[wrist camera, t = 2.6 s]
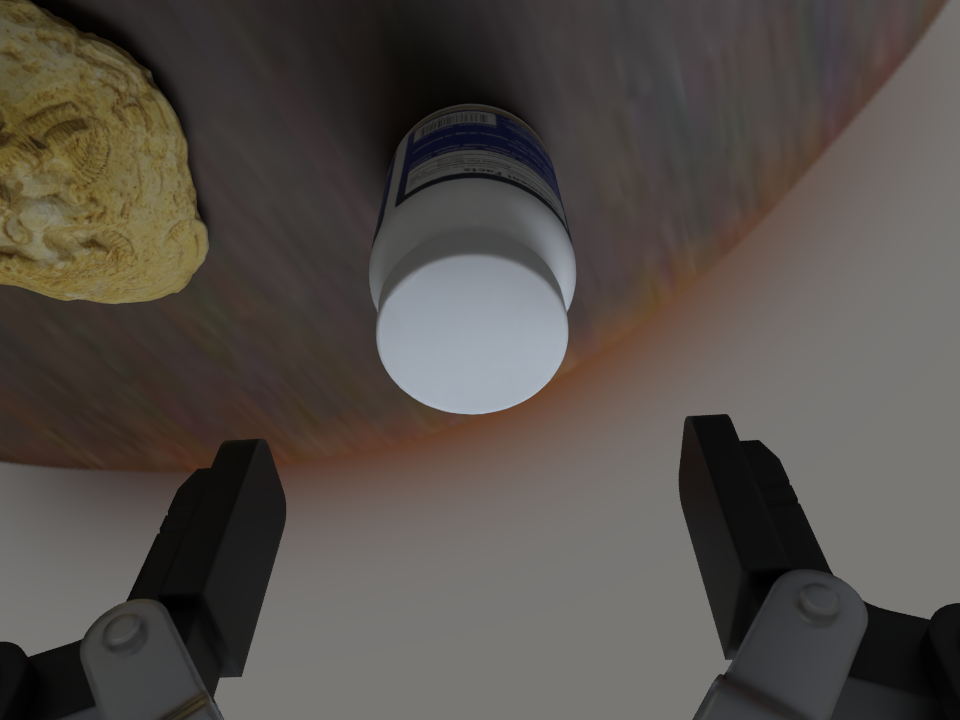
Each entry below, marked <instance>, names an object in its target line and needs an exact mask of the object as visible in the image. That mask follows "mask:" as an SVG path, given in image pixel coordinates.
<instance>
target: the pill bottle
mask: <svg viewBox="0 0 960 720" xmlns="http://www.w3.org/2000/svg"><path fill="white" fill-rule="evenodd" d="M369 284H370V290H371V295H372V299H373V302H374V305H375V307H376V310H377V312H378V315H377V323H376V342H377V348H378V352H379V355H380V358H381V361H382V363H383V365H384V367H385V369H386V371H387V372H388V374H389V375H390V377H391V378H392V379H393V380H394V381H395V382H396V384H397V385H398V386H399V387H400V388H401V389H402V390H404V391H405V392H406V393H408V394H409V395H410V396H412V397H413V398H415V399H416V400H418V401H420V402H422V403H424V404H426V405H428V406H431V407H433V408H436V409H440V410H443V411H446V412H452V413H459V414H484V413H490V412H495V411H499V410H503V409H507V408H509V407H512V406H514V405H516V404H519V403H521V402H523V401H525V400H526V399H528V398H530V397H531V396H533V395H534V394H536V393H537V392H538V391H539V390H540V389H542V388H543V387H544V386H545V385H546V384H547V383H548V382H549V381H550V379H551V378H552V377H553V376H554V374H555V373H556V371H557V370H558V368H559V366H560V364H561V362H562V360H563V357H564V354H565V352H566V348H567V342H568V320H567V311H568V309H569V306H570V304H571V301H572V298H573V294H574V289H575V284H576V262H575V255H574V250H573V245H572V241H571V237H570V233H569V228H568V224H567V220H566V216H565V212H564V208H563V204H562V201H561V196H560V192H559V188H558V184H557V180H556V176H555V172H554V168H553V165H552V162H551V159H550V156H549V154H548V152H547V150H546V148H545V146H544V144H543V142H542V141H541V139H540V138H539V137H538V135H537V134H536V133H535V132H534V131H533V130H532V129H531V128H530V127H529V126H528V125H527V124H526V123H525V122H523V121H522V120H521V119H519V118H518V117H516V116H514V115H513V114H511V113H509V112H507V111H505V110H502V109H499V108H496V107H492V106H487V105H482V104H460V105H455V106H450V107H447V108H444V109H441V110H439V111H436V112H434V113H432V114H430V115H428V116H427V117H425V118H424V119H422V120H421V121H420V122H418V123H417V124H416V125H415V126H414V127H413V128H412V129H411V130H410V131H409V132H408V133H407V134H406V135H405V137H404V138H403V140H402V141H401V143H400V144H399V146H398V148H397V150H396V152H395V154H394V157H393V159H392V162H391V165H390V168H389V172H388V177H387V181H386V185H385V190H384V195H383V200H382V204H381V209H380V213H379V218H378V223H377V227H376V231H375V235H374V240H373V245H372V250H371V255H370V265H369Z"/></svg>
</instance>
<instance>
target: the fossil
mask: <svg viewBox="0 0 960 720" xmlns="http://www.w3.org/2000/svg"><path fill="white" fill-rule="evenodd" d="M188 150H189V147H188V142H187V139H186V137H185V134H184V132H183V129H182V127H181V124H180V121H179V119H178V117H177V115H176V113H175V111H174V110H173V108H172V106H171V104H170V102H169V101H168V100H167V98H166V96H165V95H164V94H163V93H162V91H161V90H160V89H159V88H158V87H157V86H156V84H155V83H154V80H153V77H152V73H151V71H150V70H148V69H147V68H145V67H144V66H142V65H140V64H139V63H138V62H137V61H136V60H135V59H134V58H133V57H132V56H131V55H130V54H129V52H127V51H125V50H124V49H122V48H121V47H119V46H117V45H116V44H114V43H112V42H111V41H108V40H106V39H103V38H100V37H98V36H96V35H95V34H93V33H84V32H81V31H79V30H78V29H77V28H76V27H74V26H73V25H72V24H71V23H70V22H68V21H66V20H64V19H62V18H60V17H57V16H55V15H53V14H52V13H51V12H50V11H48V10H47V9H45V8H40V7H38V6H37V5H36V4H34V3H33V2H32V1H30V0H0V284H4V285H15V286H19V287H22V288H25V289H29V290H32V291H35V292H38V293H41V294H43V295H46V296H49V297H52V298H56V299H61V300H65V301H68V300H74V299H84V300H90V301H94V302H100V303H110V304H118V303H132V302H141V301H149V300H154V299H158V298H162V297H164V296H166V295H168V294H170V293H177V292H179V291H180V290H181V289H183V288H184V287H185V286H186V285H187V284H188V283H189V281H190V279H191V278H192V274H194V273H195V272H196V271H197V269H198V268H199V266H200V265H201V264H202V263H203V262H204V261H205V258H206V254H207V252H208V249H209V242H208V230H207V226H206V225H205V223H204V222H203V220H202V219H201V217H200V215H199V212H198V210H197V200H196V194H197V192H196V190H195V187H194V184H193V181H192V176H191V170H190V166H189V163H188Z"/></svg>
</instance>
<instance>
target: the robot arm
mask: <svg viewBox="0 0 960 720" xmlns="http://www.w3.org/2000/svg"><path fill="white" fill-rule="evenodd" d="M679 492H680V500H681V505H682V509H683V513H684V516H685V520H686V523H687V526H688V530H689V534H690V537H691V541H692V544H693V548H694V551H695V554H696V558H697V562H698V565H699V569H700V572H701V576H702V579H703V582H704V586H705V590H706V593H707V597H708V600H709V604H710V607H711V611H712V614H713V618H714V621H715V625H716V628H717V631H718V635H719V638H720V642H721V646H722V649H723V652H724V656H725V659H726V660H732V659H733V661H732V663H731V665H730V666H729V668H728V670H727V672H726V673H725V674H724V675H722V674H720V675H718V676H717V678H716V679H715V680H714V682H713V683H712V685H711V687H710V689H709V690H708V692H707V694H706V696H705V698H704V700H703V701H702V703H701V705H700V707H699V709H698V711H697V713H696V714H695V716H694V718H693V720H960V603H955V604H950V605H946V606H944V607H942V608H940V609H939V610H937V611H936V612H935V613H934V615H933V616H932V617H931V620H929V619H924V618H920V617H916V616H911V615H907V614H902V613H898V612H893V611H889V610H885V609H882V608H878V607H876V606H873V605H871V604H869V603H867V602H865V601H863V600H862V599H861V597H860V596H859V594H858V593H857V592H856V591H855V590H854V589H853V588H852V587H851V586H850V585H848V584H847V583H846V582H844V581H843V580H841V579H839V578H838V577H836V576H834V575H833V573H832V572H831V570H830V568H829V566H828V564H827V562H826V559H825V557H824V555H823V553H822V551H821V548H820V546H819V544H818V542H817V540H816V538H815V535H814V533H813V531H812V529H811V527H810V525H809V522H808V520H807V518H806V516H805V514H804V511H803V509H802V507H801V505H800V504H798V498H797V496H796V494H795V492H794V490H793V488H792V486H791V485H790V484H789V479H788V477H787V475H786V472H785V470H784V468H783V466H782V464H781V462H780V459H779V458H778V457H777V456H776V455H774V454H773V453H772V452H771V451H770V450H769V449H768V448H767V447H765V445H764V444H762V443H761V442H760V441H759V440H752V441H751V440H750V441H740V440H739V438H738V436H737V433H736V431H735V428H734V426H733V423H732V421H731V419H730V417H729V416H728V415H727V414H720V415H702V416H687V417H686V419H685V422H684V431H683V440H682V450H681V459H680V468H679ZM285 520H286V500H285V495H284V491H283V488H282V485H281V482H280V479H279V476H278V473H277V470H276V467H275V463H274V460H273V457H272V454H271V451H270V448H269V446H268V443H267V442H266V440H264V439H248V440H230V441H224V442H223V443H222V444H221V446H220V448H219V450H218V453H217V455H216V457H215V460H214V462H213V464H212V467H211V468H205V469H197V470H196V471H195V472H194V473H193V474H192V475H191V476H190V477H189V478H188V479H187V480H186V482H184V483H183V484H182V486H181V487H180V488H179V489H178V491H177V492H176V495H175V497H174V499H173V501H172V504H171V506H170V508H169V510H168V515H167V516H165V519H164V521H163V523H162V525H161V527H160V533H159V534H157V536H156V538H155V540H154V542H153V545H152V547H151V549H150V551H149V554H148V555H147V558H146V560H145V562H144V564H143V566H142V569H141V571H140V573H139V575H138V577H137V579H136V582H135V584H134V586H133V588H132V590H131V592H130V595H129V597H128V599H127V601H126V602H125V603H122V604H119V605H117V606H115V607H113V608H112V609H110V610H108V611H107V612H106V613H104V614H103V615H102V616H100V617H99V618H98V619H97V620H96V621H95V622H94V623H93V624H92V626H91V627H90V628H89V629H88V631H87V632H86V634H85V636H84V638H83V639H81V640H79V641H76V642H74V643H71V644H67V645H64V646H61V647H58V648H55V649H52V650H49V651H46V652H43V653H39V654H36V655H33V656H30V657H27V656H26V654H25V653H24V651H23V650H22V649H21V648H20V647H19V646H18V645H16V644H14V643H10V642H0V720H224V718H223V716H222V714H221V712H220V710H219V708H218V706H217V704H216V702H215V700H214V698H213V697H214V694H215V691H216V688H217V684H218V681H219V678H221V677H242V673H243V670H244V666H245V663H246V659H247V656H248V652H249V649H250V645H251V642H252V638H253V635H254V631H255V628H256V624H257V621H258V617H259V614H260V610H261V607H262V603H263V600H264V596H265V593H266V589H267V586H268V582H269V578H270V575H271V572H272V568H273V564H274V561H275V558H276V554H277V551H278V547H279V544H280V540H281V537H282V533H283V529H284V526H285Z"/></svg>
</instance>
